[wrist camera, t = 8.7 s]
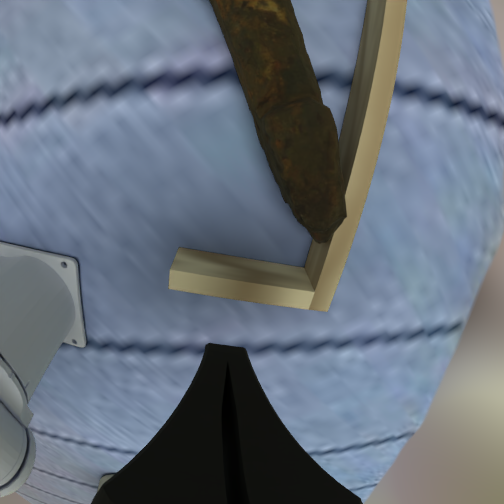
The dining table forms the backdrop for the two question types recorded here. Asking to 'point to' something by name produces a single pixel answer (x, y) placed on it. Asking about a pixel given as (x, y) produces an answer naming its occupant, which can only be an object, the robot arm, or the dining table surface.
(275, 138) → the hand tool
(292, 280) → the beige bent bracket
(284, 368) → the dining table surface
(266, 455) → the robot arm
